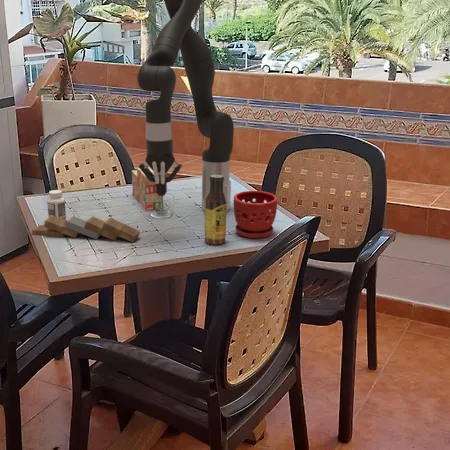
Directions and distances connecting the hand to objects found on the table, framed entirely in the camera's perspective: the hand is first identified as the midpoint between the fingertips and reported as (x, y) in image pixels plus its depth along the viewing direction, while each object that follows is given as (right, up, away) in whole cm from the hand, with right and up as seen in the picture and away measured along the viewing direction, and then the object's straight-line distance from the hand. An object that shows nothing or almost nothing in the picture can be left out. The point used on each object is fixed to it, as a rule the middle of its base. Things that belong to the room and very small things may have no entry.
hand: (161, 195), depth 193 cm
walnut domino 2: (-25, -11, +2) cm, 27 cm away
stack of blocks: (-9, -1, +38) cm, 39 cm away
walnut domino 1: (-29, -11, +3) cm, 31 cm away
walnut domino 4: (-7, -12, -1) cm, 14 cm away
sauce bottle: (+16, -14, -1) cm, 21 cm away
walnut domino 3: (-13, -12, 0) cm, 17 cm away
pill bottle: (-35, -8, +15) cm, 39 cm away
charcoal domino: (-18, -11, +1) cm, 22 cm away
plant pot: (+28, -12, +6) cm, 31 cm away
